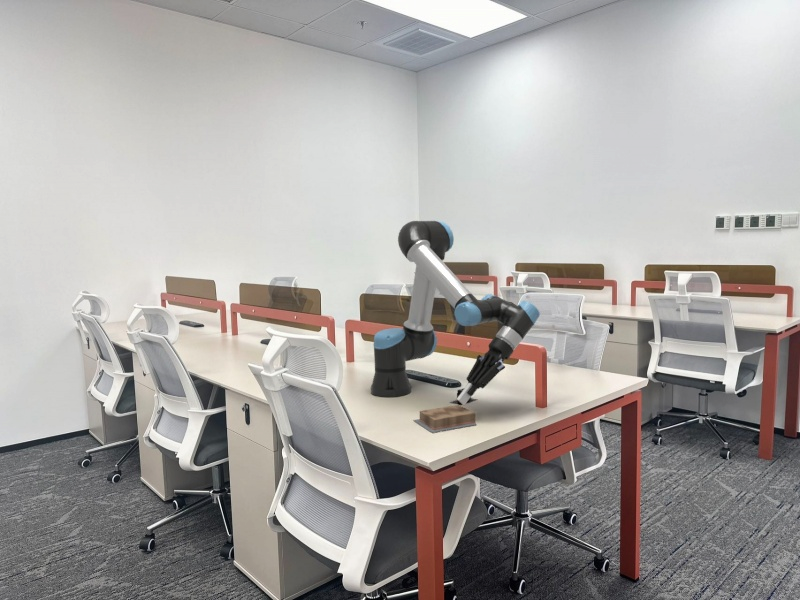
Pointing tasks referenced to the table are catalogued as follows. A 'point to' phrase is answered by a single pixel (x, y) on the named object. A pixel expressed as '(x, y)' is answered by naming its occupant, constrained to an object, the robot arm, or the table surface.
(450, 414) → the mottled brown tile
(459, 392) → the black notched bracket mount
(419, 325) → the robot arm
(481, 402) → the table surface
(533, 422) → the table surface
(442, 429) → the felt mat
